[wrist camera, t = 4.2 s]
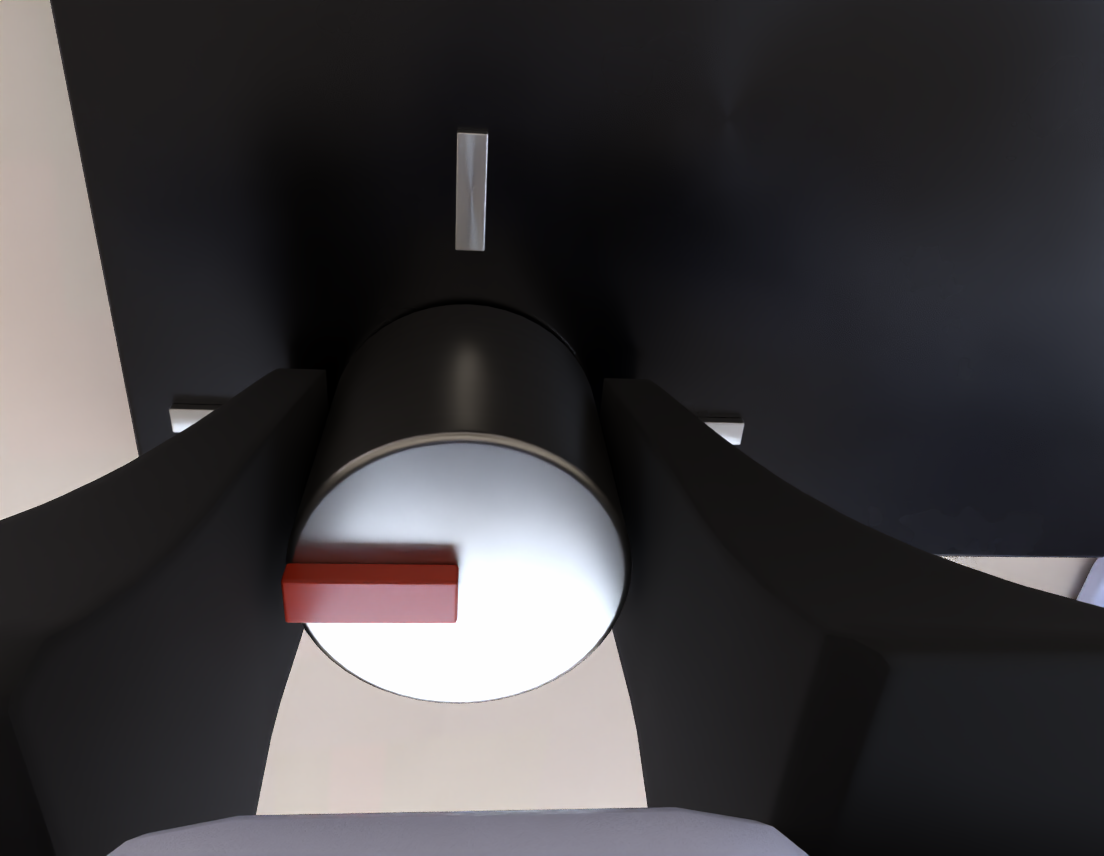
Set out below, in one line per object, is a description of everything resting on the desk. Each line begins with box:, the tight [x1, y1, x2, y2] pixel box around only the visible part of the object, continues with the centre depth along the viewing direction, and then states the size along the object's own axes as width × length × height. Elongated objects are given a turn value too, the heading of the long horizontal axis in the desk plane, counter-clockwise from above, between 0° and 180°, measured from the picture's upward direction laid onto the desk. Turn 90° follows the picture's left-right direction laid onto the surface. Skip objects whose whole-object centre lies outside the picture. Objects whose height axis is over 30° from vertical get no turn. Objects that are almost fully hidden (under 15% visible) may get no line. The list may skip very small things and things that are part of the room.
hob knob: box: [281, 304, 632, 704], centre depth 10 cm, size 4×4×4 cm
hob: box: [50, 0, 1104, 558], centre depth 11 cm, size 15×15×2 cm
